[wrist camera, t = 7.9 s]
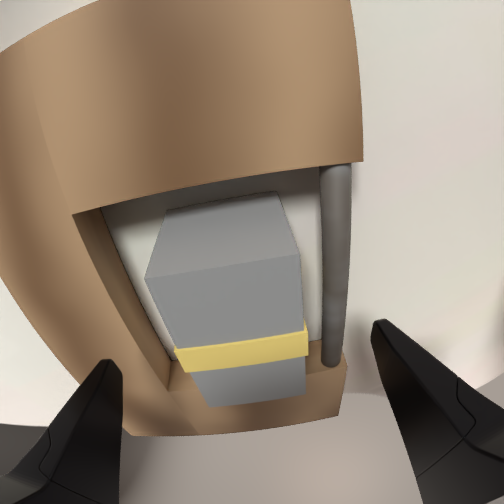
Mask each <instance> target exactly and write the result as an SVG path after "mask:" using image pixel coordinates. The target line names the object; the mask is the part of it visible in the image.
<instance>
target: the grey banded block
mask: <svg viewBox="0 0 504 504" xmlns="http://www.w3.org/2000/svg"><path fill="white" fill-rule="evenodd" d="M144 280H145V282H146V284H147V286H148V289H149V291H150V293H151V295H152V298H153V300H154V302H155V304H156V306H157V309H158V311H159V313H160V315H161V317H162V319H163V321H164V323H165V325H166V328H167V330H168V332H169V334H170V336H171V338H172V340H173V342H174V344H175V347H174V353H175V355H176V356H177V358H178V360H179V362H180V364H181V366H182V368H183V369H184V371H185V373H186V372H190V374H191V376H192V378H193V380H194V382H195V383H196V385H197V387H198V389H199V391H200V392H201V394H202V396H203V398H204V399H205V401H206V403H207V405H208V406H209V407H220V406H230V405H239V404H247V403H255V402H262V401H269V400H275V399H282V398H288V397H293V396H299V395H304V394H306V374H305V356H307V355H308V331H307V327H306V324H305V320H304V317H303V298H302V281H301V265H300V253H299V250H298V247H297V245H296V242H295V239H294V236H293V234H292V231H291V228H290V226H289V223H288V220H287V218H286V215H285V212H284V210H283V207H282V205H281V202H280V199H279V197H278V194H277V192H276V191H272V192H266V193H260V194H254V195H248V196H242V197H236V198H230V199H224V200H219V201H213V202H208V203H203V204H197V205H192V206H187V207H182V208H177V209H172V210H167V212H166V214H165V217H164V220H163V223H162V226H161V229H160V231H159V234H158V237H157V240H156V243H155V246H154V249H153V252H152V255H151V259H150V262H149V265H148V268H147V271H146V274H145V278H144Z"/></svg>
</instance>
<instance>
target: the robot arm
mask: <svg viewBox="0 0 504 504" xmlns="http://www.w3.org/2000/svg"><path fill="white" fill-rule="evenodd" d="M371 344H372V348H373V351H374V355H375V359H376V362H377V366H378V370H379V374H380V377H381V381H382V384H383V387H384V389H385V392H386V394H387V397H388V400H389V402H390V405H391V408H392V410H393V413H394V416H395V418H396V421H397V424H398V426H399V429H400V432H401V435H402V438H403V441H404V444H405V447H406V450H407V453H408V455H409V459H410V461H411V465H412V468H413V471H414V474H415V477H416V481H417V484H418V487H419V491H420V494H421V498H422V501H423V504H504V409H503V408H501V407H500V406H498V405H497V404H495V403H494V402H492V401H491V400H489V399H488V398H486V397H484V396H483V395H482V394H480V393H479V392H477V391H476V390H475V389H474V388H472V387H471V386H470V385H468V384H467V383H466V382H465V381H463V380H462V379H461V378H460V377H457V375H456V374H455V373H454V372H452V371H451V370H450V369H449V368H447V367H446V366H445V365H444V364H442V363H441V362H440V361H439V360H437V359H436V358H435V357H434V356H433V355H431V354H430V353H429V352H428V351H426V350H425V349H424V348H423V347H421V346H420V345H419V344H418V343H416V342H415V341H414V340H412V339H411V338H410V337H409V336H407V335H406V334H405V333H404V332H402V331H401V330H400V329H399V328H397V327H396V326H395V325H393V324H392V323H391V322H390V321H388V320H387V319H380V320H376V321H374V323H373V327H372V332H371ZM122 422H123V375H122V372H121V370H120V369H119V368H118V366H117V365H116V364H115V362H114V361H113V360H112V359H102V360H100V361H99V362H98V364H97V365H96V366H95V367H94V369H93V370H92V371H91V372H90V374H89V375H88V376H87V377H86V379H85V380H84V381H83V382H82V384H81V385H80V386H79V387H78V389H77V390H76V391H75V392H74V394H73V395H72V396H71V398H70V399H69V400H68V401H67V403H66V404H65V405H64V407H63V408H62V409H61V411H60V412H59V413H58V414H57V416H56V417H55V418H54V420H53V421H52V422H51V424H50V425H49V428H47V429H46V430H45V432H44V433H43V434H42V436H41V437H40V438H39V440H38V441H37V442H36V443H35V444H34V446H33V447H32V448H31V449H30V450H29V451H28V453H27V454H26V455H25V456H24V457H23V458H22V459H21V460H20V462H19V463H18V464H17V465H16V466H15V467H14V469H12V470H11V471H10V472H9V473H7V474H5V475H3V476H0V504H119V470H120V450H121V435H122Z"/></svg>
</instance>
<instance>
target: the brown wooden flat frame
mask: <svg viewBox="0 0 504 504" xmlns="http://www.w3.org/2000/svg"><path fill="white" fill-rule="evenodd" d="M353 162H363V125H362V104H361V89H360V76H359V65H358V56H357V47H356V38H355V31H354V23H353V16H352V10H351V4H350V0H98V1H95V2H93V3H91V4H88V5H86V6H84V7H81V8H79V9H77V10H75V11H73V12H71V13H68V14H66V15H64V16H62V17H60V18H58V19H56V20H54V21H53V22H51V23H49V24H47V25H45V26H43V27H41V28H40V29H38V30H36V31H34V32H33V33H31V34H29V35H27V36H26V37H24V38H23V39H21V40H19V41H18V42H16V43H15V44H13V45H11V46H10V47H8V48H7V49H5V50H4V51H2V52H1V53H0V277H1V278H2V280H3V282H4V284H5V285H6V287H7V288H8V290H9V292H10V293H11V295H12V296H13V298H14V300H15V301H16V303H17V304H18V306H19V307H20V309H21V310H22V312H23V313H24V315H25V316H26V318H27V319H28V320H29V322H30V323H31V325H32V326H33V327H34V329H35V330H36V332H37V333H38V334H39V336H40V337H41V338H42V340H43V341H44V342H45V343H46V345H47V346H48V347H49V349H50V350H51V351H52V352H53V354H54V355H55V356H56V357H57V359H58V360H59V361H60V362H61V363H62V365H63V366H64V367H65V368H66V369H67V370H68V372H69V373H70V374H71V375H72V376H73V377H74V378H75V380H76V381H77V382H78V383H79V384H80V385H81V384H82V382H83V381H84V380H85V379H86V377H87V376H88V375H89V374H90V372H91V371H92V370H93V369H94V367H95V366H96V365H97V364H98V362H99V361H100V360H102V359H112V360H113V361H114V362H115V364H116V365H117V366H118V368H119V369H120V370H121V372H122V375H123V422H122V427H123V428H124V429H125V430H126V431H127V432H129V433H130V434H131V435H132V436H194V435H211V434H212V435H213V434H224V433H236V432H246V431H254V430H262V429H269V428H277V427H283V426H289V425H295V424H300V423H305V422H311V421H316V420H320V419H325V418H329V417H334V416H338V414H339V408H340V404H341V399H342V394H343V388H344V383H345V377H346V371H347V363H346V360H345V357H344V354H343V351H342V346H343V337H344V328H345V317H346V306H347V294H348V280H349V263H350V240H351V163H353ZM317 166H319V176H320V195H321V219H322V265H323V301H322V339H321V340H316V341H311V342H308V355H307V356H305V374H306V394H304V395H299V396H293V397H288V398H282V399H275V400H269V401H262V402H255V403H247V404H239V405H230V406H220V407H209V406H208V405H207V403H206V401H205V399H204V398H203V396H202V394H201V392H200V391H199V389H198V387H197V385H196V383H195V382H194V380H193V378H192V376H191V374H190V372H186V373H185V371H184V369H183V368H182V366H181V364H180V362H179V360H177V361H171V360H170V359H169V357H168V355H167V353H166V351H165V350H164V348H163V346H162V344H161V342H160V340H159V338H158V337H157V335H156V333H155V331H154V329H153V327H152V325H151V323H150V321H149V319H148V317H147V315H146V313H145V311H144V309H143V307H142V305H141V303H140V301H139V299H138V297H137V295H136V293H135V290H134V288H133V286H132V284H131V282H130V280H129V278H128V275H127V273H126V271H125V269H124V266H123V264H122V262H121V259H120V257H119V255H118V252H117V250H116V248H115V245H114V243H113V240H112V238H111V236H110V233H109V231H108V228H107V226H106V223H105V220H104V218H103V215H102V213H101V210H100V207H102V206H106V205H110V204H114V203H118V202H122V201H127V200H131V199H135V198H139V197H144V196H148V195H153V194H157V193H162V192H167V191H171V190H176V189H181V188H186V187H191V186H196V185H201V184H207V183H212V182H217V181H223V180H229V179H235V178H240V177H247V176H253V175H259V174H266V173H272V172H279V171H286V170H293V169H301V168H309V167H317Z"/></svg>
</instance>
